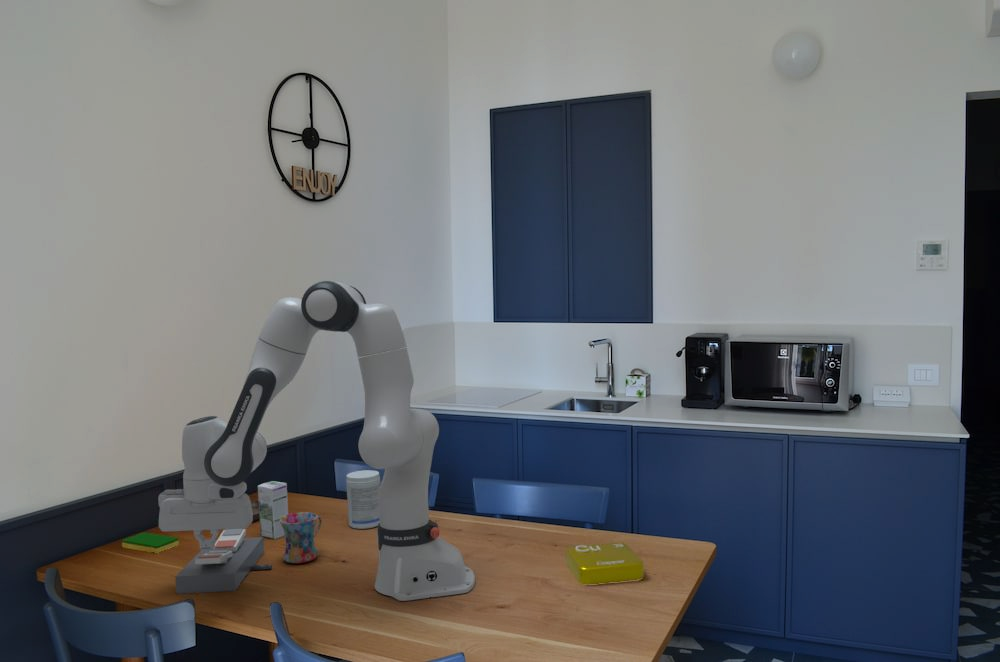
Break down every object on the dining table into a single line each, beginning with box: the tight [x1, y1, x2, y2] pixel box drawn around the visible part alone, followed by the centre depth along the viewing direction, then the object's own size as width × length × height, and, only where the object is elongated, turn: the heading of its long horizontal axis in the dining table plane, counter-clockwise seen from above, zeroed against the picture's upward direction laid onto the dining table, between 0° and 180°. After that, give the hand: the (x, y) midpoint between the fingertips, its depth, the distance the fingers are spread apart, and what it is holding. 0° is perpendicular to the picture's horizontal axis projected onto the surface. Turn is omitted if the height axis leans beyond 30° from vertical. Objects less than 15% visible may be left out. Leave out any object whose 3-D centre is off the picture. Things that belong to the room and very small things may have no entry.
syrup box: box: [257, 480, 289, 540], centre depth 208 cm, size 6×6×14 cm
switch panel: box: [175, 536, 273, 595], centre depth 182 cm, size 18×25×4 cm
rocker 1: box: [212, 528, 247, 552], centre depth 188 cm, size 6×9×2 cm, turn 3°
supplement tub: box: [345, 469, 381, 530], centre depth 215 cm, size 10×10×15 cm
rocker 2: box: [195, 550, 232, 565], centre depth 176 cm, size 6×9×2 cm, turn 3°
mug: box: [280, 511, 323, 564], centre depth 190 cm, size 12×9×11 cm
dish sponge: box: [121, 532, 180, 554], centre depth 203 cm, size 7×14×2 cm, turn 64°
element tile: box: [566, 542, 645, 585], centre depth 174 cm, size 15×15×5 cm
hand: (207, 548), depth 172 cm, fingers closed
